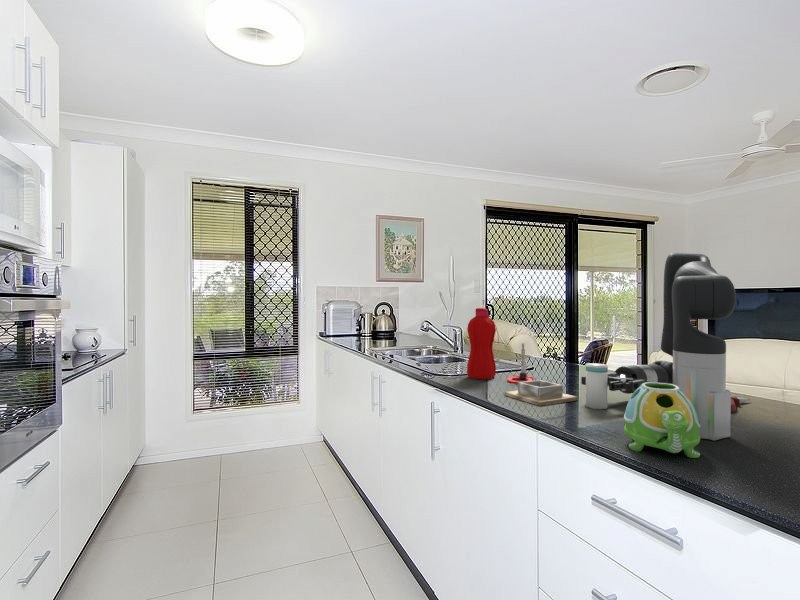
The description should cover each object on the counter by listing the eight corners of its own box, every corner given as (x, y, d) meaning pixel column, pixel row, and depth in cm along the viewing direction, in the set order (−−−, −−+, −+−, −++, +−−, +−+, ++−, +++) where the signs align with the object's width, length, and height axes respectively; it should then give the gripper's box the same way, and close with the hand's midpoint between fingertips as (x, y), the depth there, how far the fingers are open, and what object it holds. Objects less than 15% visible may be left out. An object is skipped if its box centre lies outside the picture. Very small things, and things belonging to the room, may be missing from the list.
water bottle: (493, 381, 147) (493, 308, 147) (464, 378, 153) (464, 307, 153) (502, 377, 154) (503, 308, 154) (474, 374, 160) (474, 307, 160)
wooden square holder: (577, 400, 120) (577, 386, 120) (539, 405, 113) (540, 390, 113) (539, 390, 132) (539, 377, 132) (504, 395, 126) (504, 381, 126)
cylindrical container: (612, 407, 112) (612, 365, 112) (598, 409, 110) (598, 366, 110) (594, 403, 117) (594, 362, 117) (581, 405, 114) (581, 364, 114)
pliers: (768, 407, 115) (768, 397, 115) (724, 416, 106) (724, 405, 106) (721, 398, 125) (721, 389, 125) (677, 406, 116) (677, 396, 116)
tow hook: (528, 386, 141) (536, 380, 149) (527, 347, 140) (535, 343, 148) (503, 384, 145) (512, 378, 153) (503, 346, 145) (511, 342, 153)
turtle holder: (634, 465, 73) (635, 395, 73) (619, 433, 90) (619, 377, 90) (721, 475, 69) (721, 401, 69) (687, 440, 86) (688, 381, 86)
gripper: (612, 361, 127) (573, 365, 119) (660, 369, 114) (620, 373, 107) (612, 387, 127) (573, 392, 119) (660, 397, 114) (620, 403, 107)
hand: (595, 383), depth 113 cm, fingers open, 8 cm apart
